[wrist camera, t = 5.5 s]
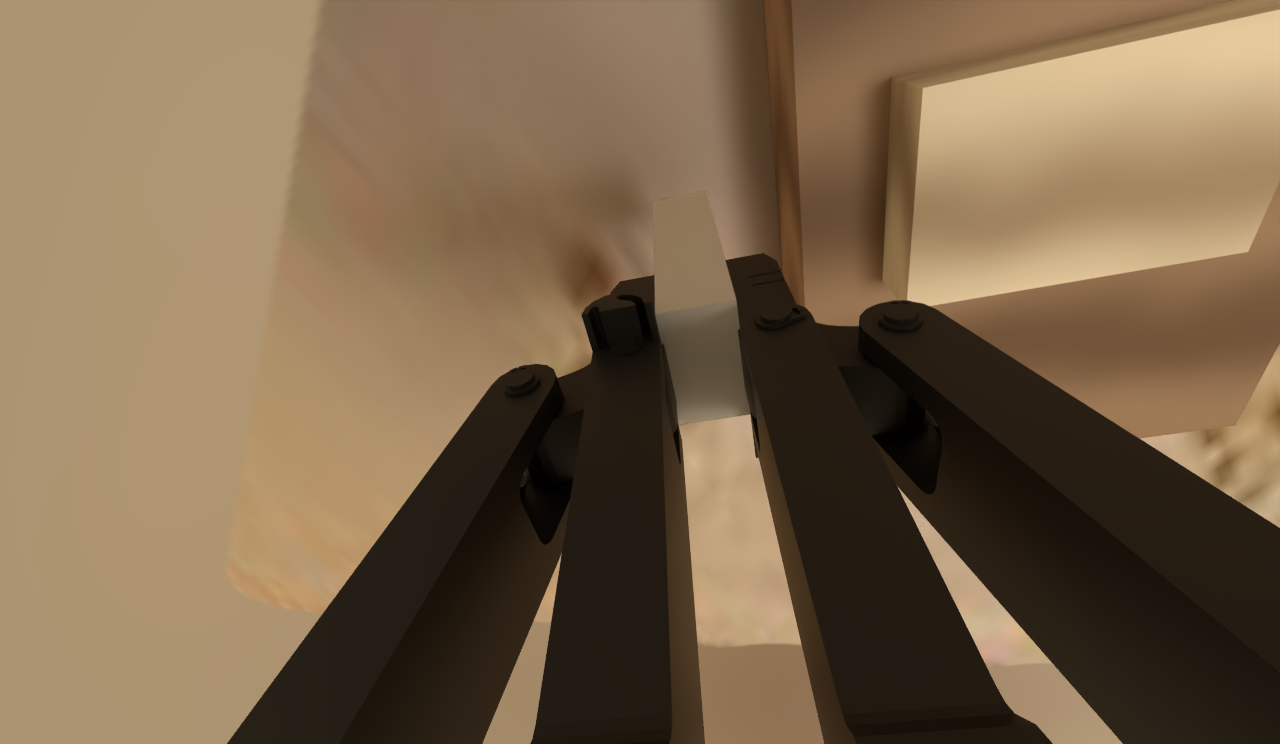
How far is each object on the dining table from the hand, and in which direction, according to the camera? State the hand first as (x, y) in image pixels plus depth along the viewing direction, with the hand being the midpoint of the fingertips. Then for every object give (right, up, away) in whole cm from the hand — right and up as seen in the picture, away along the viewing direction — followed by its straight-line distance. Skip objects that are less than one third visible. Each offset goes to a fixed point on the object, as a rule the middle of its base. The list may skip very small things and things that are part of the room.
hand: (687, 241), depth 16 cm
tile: (+10, +2, 0) cm, 11 cm away
